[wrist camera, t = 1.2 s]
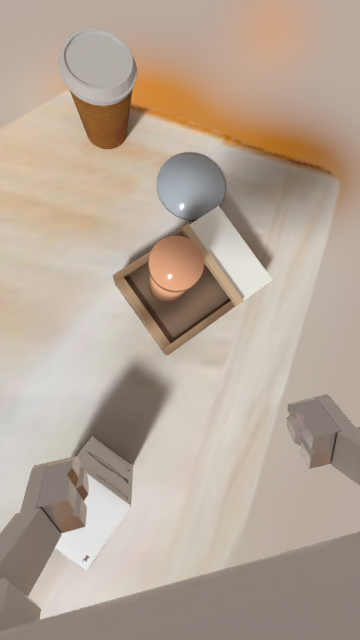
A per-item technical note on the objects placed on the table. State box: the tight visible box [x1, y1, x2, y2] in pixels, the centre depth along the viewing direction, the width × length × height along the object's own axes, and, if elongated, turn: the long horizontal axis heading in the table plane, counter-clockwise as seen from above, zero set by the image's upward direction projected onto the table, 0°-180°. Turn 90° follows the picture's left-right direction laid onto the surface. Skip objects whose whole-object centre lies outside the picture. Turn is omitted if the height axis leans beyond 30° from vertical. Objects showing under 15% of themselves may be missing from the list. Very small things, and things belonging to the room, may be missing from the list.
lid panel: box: [181, 206, 272, 306], centre depth 43 cm, size 13×7×2 cm, turn 36°
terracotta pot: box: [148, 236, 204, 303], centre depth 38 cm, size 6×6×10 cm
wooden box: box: [113, 231, 235, 355], centre depth 45 cm, size 13×18×5 cm
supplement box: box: [54, 436, 133, 571], centre depth 36 cm, size 7×7×13 cm
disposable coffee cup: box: [59, 28, 137, 149], centre depth 43 cm, size 10×10×12 cm
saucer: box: [157, 153, 225, 221], centre depth 49 cm, size 11×11×1 cm
